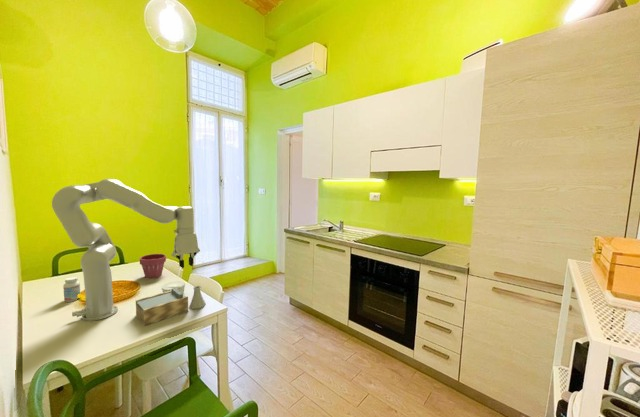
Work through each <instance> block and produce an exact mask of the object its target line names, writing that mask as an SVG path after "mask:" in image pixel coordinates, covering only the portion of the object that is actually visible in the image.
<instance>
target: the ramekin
mask: <svg viewBox="0 0 640 417" xmlns="http://www.w3.org/2000/svg"><path fill="white" fill-rule="evenodd" d="M185 286H186V284H185V282H184V281H171V282H168V283H165V284H163V285H162V286H161V290H162V293H164V292H168V291H171V290H172V288H176V289H178V290H179V291H180V292H181V293H182V294H183V295H184V292H185Z"/></svg>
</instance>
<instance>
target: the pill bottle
mask: <svg viewBox="0 0 640 417" xmlns="http://www.w3.org/2000/svg"><path fill="white" fill-rule="evenodd" d="M64 282H65V283H64V284H63V287H62V288H63V296H64V298H63V300H64V302H68V303H70V302H75V301H78V300H77V295H78V294H81V284H80V282H79V281H78V277H77V276H72V277H67V278H65V279H64Z"/></svg>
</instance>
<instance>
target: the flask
mask: <svg viewBox="0 0 640 417" xmlns="http://www.w3.org/2000/svg"><path fill="white" fill-rule="evenodd" d="M201 288H202V286H200V285H195V286H193V295H192V298H191V302H190V303H189V305H188V309H192V310H199V309H201V308H203V307H205V306H206V304H207V303H206V301H205V300H204V298H203V295H202V292H201Z"/></svg>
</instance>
